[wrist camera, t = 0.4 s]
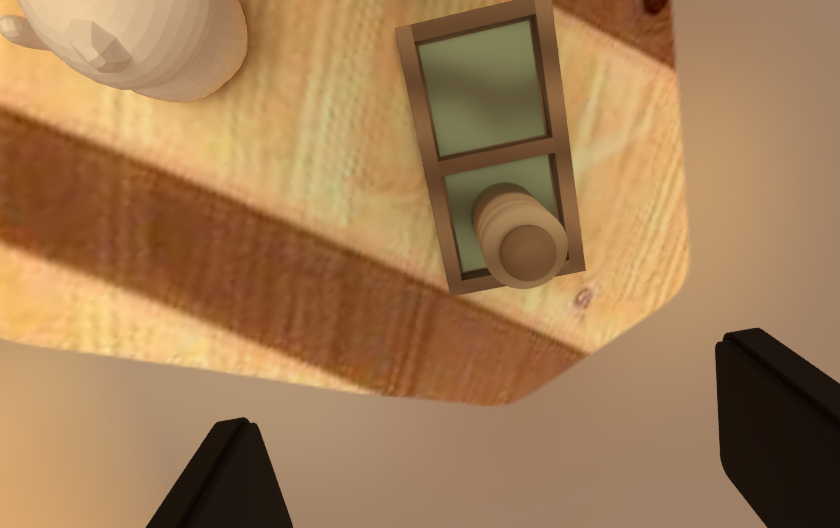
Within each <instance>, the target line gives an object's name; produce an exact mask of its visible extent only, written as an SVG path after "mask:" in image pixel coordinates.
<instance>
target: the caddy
mask: <svg viewBox="0 0 840 528" xmlns="http://www.w3.org/2000/svg"><path fill="white" fill-rule="evenodd" d="M395 32H396V37H397V41H398V46H399V51H400V56H401V61H402V65H403V70H404V75H405V80H406V84H407V89H408V94H409V99H410V104H411V108H412V113H413V118H414V123H415V128H416V132H417V137H418V142H419V147H420V152H421V156H422V161H423V166H424V171H425V175H426V180H427V185H428V190H429V195H430V199H431V204H432V209H433V214H434V219H435V223H436V228H437V233H438V238H439V242H440V247H441V252H442V257H443V262H444V266H445V271H446V276H447V281H448V286H449V290H450V295H451V296H456V295H461V294H466V293H472V292H477V291H482V290H487V289H493V288H498V287H503V286H507V285H504V284H503V283H501V282H499V281H498V280H497V279H496V278H495V277H494V276H493V275H492V274H491V273H490V272H489V270H488V268H487V266H486V264H485V261H484V258H483V255H482V252H481V249H480V246H479V243H478V240H477V236H476V233H475V230H474V227H473V224H472V219H471V212H472V207H473V204H474V202H475V200H476V198H477V197H478V195H479V194H480V193H481V192H482V191H483V190H484V189H486V188H487V187H489V186H491V185H493V184H496V183H501V182H509V183H514V184H517V185H520V186H521V187H523V188H524V189H526V190H527V191H528V192H529V193H530V194H531V195H532V196H533V197H534V198H535V199H536V200H537V201H538V202H539V203H540V204H541V205H542V206H544V207H545V208H546V209H547V210H548V211H549V212H550V213H551V214H552V215H553V216H554V217H555V218H556V219H557V220H558V221H559V222H560V224H561V225H562V226H563V228H564V230H565V233H566V236H567V240H568V252H567V257H566V260H565V262H564V264H563V266H562V268H561V269H560V271H559V272H558V273H557V274H556V275H555V276H554V277H556V276H561V275H566V274H571V273H577V272H582V271H586V269H585V261H584V254H583V246H582V238H581V230H580V222H579V214H578V206H577V198H576V190H575V182H574V174H573V167H572V159H571V151H570V143H569V135H568V127H567V119H566V111H565V103H564V95H563V88H562V80H561V72H560V64H559V56H558V48H557V40H556V32H555V24H554V16H553V8H552V1H551V0H514V1H509V2H505V3H501V4H497V5H492V6H488V7H484V8H480V9H475V10H471V11H467V12H463V13H458V14H454V15H450V16H446V17H441V18H437V19H433V20H429V21H424V22H420V23H416V24H412V25H408V26H403V27H399V28H395Z"/></svg>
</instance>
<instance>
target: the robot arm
mask: <svg viewBox="0 0 840 528" xmlns="http://www.w3.org/2000/svg"><path fill="white" fill-rule="evenodd" d="M715 359H716V380H717V400H718V421H719V442H720V457H721V463H722V466H723V469H724V471H725V473H726V475H727V476H728V478H729V479H730V480H731V482H732V483H733V484H734V485H735V487H736V488H737V489H738V491H739V492H740V493H741V494H742V495H743V497H744V498H745V499H746V501H747V502H748V503H749V505H750V506H751V507H752V509H753V510H754V511H755V512H756V514H757V515H758V516H759V517H760V519H761V520H762V521H763V522H764V524H765V525H766V526H767V528H840V384H839V383H838V382H836V381H835V380H834V379H832V378H831V377H829V376H828V375H826V374H825V373H824V372H822V371H820V370H819V369H818V368H816V367H815V366H814V365H812V364H811V363H809V362H808V361H806V360H805V359H804V358H802V357H801V356H799V355H798V354H796V353H795V352H793V351H792V350H791V349H789V348H788V347H786V346H785V345H784V344H782V343H780V342H779V341H778V340H776V339H775V338H774V337H772V336H771V335H769V334H768V333H766V332H765V331H764V330H762V329H760V328H752V329H746V330H741V331H735V332H730V333H726V334H725V335H724V337H723V341H722V342H718V343H717V344H716V346H715ZM146 528H293V525H292V522H291V519H290V516H289V513H288V510H287V507H286V505H285V502H284V499H283V496H282V493H281V490H280V487H279V485H278V481H277V479H276V476H275V473H274V470H273V467H272V464H271V461H270V459H269V456H268V453H267V450H266V447H265V444H264V441H263V438H262V436H261V433H260V430H259V428H258V426H257V424H255V423H250V422H249V421H248V420H247V418H244V417H242V418H237V419H231V420H225V421H219V422H217V423H216V424H215V425H214V426H213V428H212V429H211V430H210V432H209V433H208V435H207V436H206V438H205V439H204V441H203V442H202V444H201V445H200V447H199V448H198V450H197V451H196V453H195V454H194V456H193V457H192V459H191V460H190V462H189V463H188V465H187V467H186V468H185V469H184V471H183V472H182V474H181V475H180V477H179V479H178V480H177V481H176V483H175V484H174V486H173V487H172V489H171V490H170V492H169V493H168V495H167V496H166V498H165V499H164V501H163V503H162V504H161V505H160V507H159V508H158V510H157V511H156V513H155V515H154V516H153V517H152V519H151V520H150V522H149V523H148V525H147V526H146Z"/></svg>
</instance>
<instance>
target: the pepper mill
mask: <svg viewBox="0 0 840 528" xmlns="http://www.w3.org/2000/svg"><path fill="white" fill-rule="evenodd" d="M471 219H472V224H473V227H474V230H475V233H476V236H477V240H478V243H479V246H480V249H481V252H482V255H483V258H484V261H485V264H486V266H487V268H488V270H489V272H490V273H491V274H492V275H493V276H494V277H495V278H496V279H497V280H498V281H499V282H501V283H503V284H504V285H507V286H509V287H513V288H518V289H528V288H534V287H538V286H540V285H543V284H544V283H546V282H548V281H549V280H551V279H552V278H553V277H554V276H555V275H556V274H557V273H558V272H559V271H560V269H561V268H562V266H563V264H564V262H565V260H566V257H567V252H568V240H567V236H566V233H565V230H564V228H563V226H562V225H561V224H560V222H559V221H558V220H557V219H556V218H555V217H554V216H553V215H552V214H551V213H550V212H549V211H548V210H547V209H546V208H545V207H544V206H542V205H541V204H540V203H539V202H538V201H537V200H536V199H535V198H534V197H533V196H532V195H531V194H530V193H529V192H528V191H527V190H526V189H524V188H523V187H521V186H520V185H517V184H514V183H509V182H501V183H496V184H493V185H491V186H489V187H487V188H486V189H484V190H483V191H482V192H481V193H480V194H479V195H478V197H477V198H476V200H475V202H474V204H473V207H472V212H471Z"/></svg>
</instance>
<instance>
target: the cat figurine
mask: <svg viewBox="0 0 840 528" xmlns="http://www.w3.org/2000/svg"><path fill="white" fill-rule="evenodd" d="M18 3H19V5H20V7H21V9H22V11H23V13H24V15H25V17H26V18H24V17H21V16H17V15H5V16H3V17H1V18H0V32H1V33H2V35H3V36H4V37H5V38H7V39H8V40H9V41H11V42H12V43H15V44H18V45H21V46H24V47H27V48H32V49H39V50H48V51H52V52H53V53H54V54H55V55H56V56H57V57H59V58H60V59H61V60H62V61H64V62H65V63H66V64H67V65H68V66H70V67H71V68H72V69H74V70H76V71H78V72H79V73H81V74H83V75H85V76H86V77H88V78H90V79H92V80H94V81H95V82H98V83H101V84H104V85H107V86H110V87H113V88H117V89H121V90H132V91H134V92H135V93H138V94H141V95H144V96H146V97H149V98H154V99H159V100H164V101H170V102H190V101H195V100H199V99H203V98H204V97H206V96H208V95H210V94H211V93H213V92H215V91H216V90H217V89H218V88H220V87H221V86H222V85H223V84H224V83H226V82H227V81H228V80H229V79H230V78H231V77H232V76H233V75H234V74H235V73H236V72H237V70H238V69H239V68H240V67H241V65H242V63H243V60H244V58H245V56H246V52H247V42H248V38H247V26H246V21H245V16H244V13H243V11H242V8H241V5H240V2H239V0H18Z"/></svg>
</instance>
